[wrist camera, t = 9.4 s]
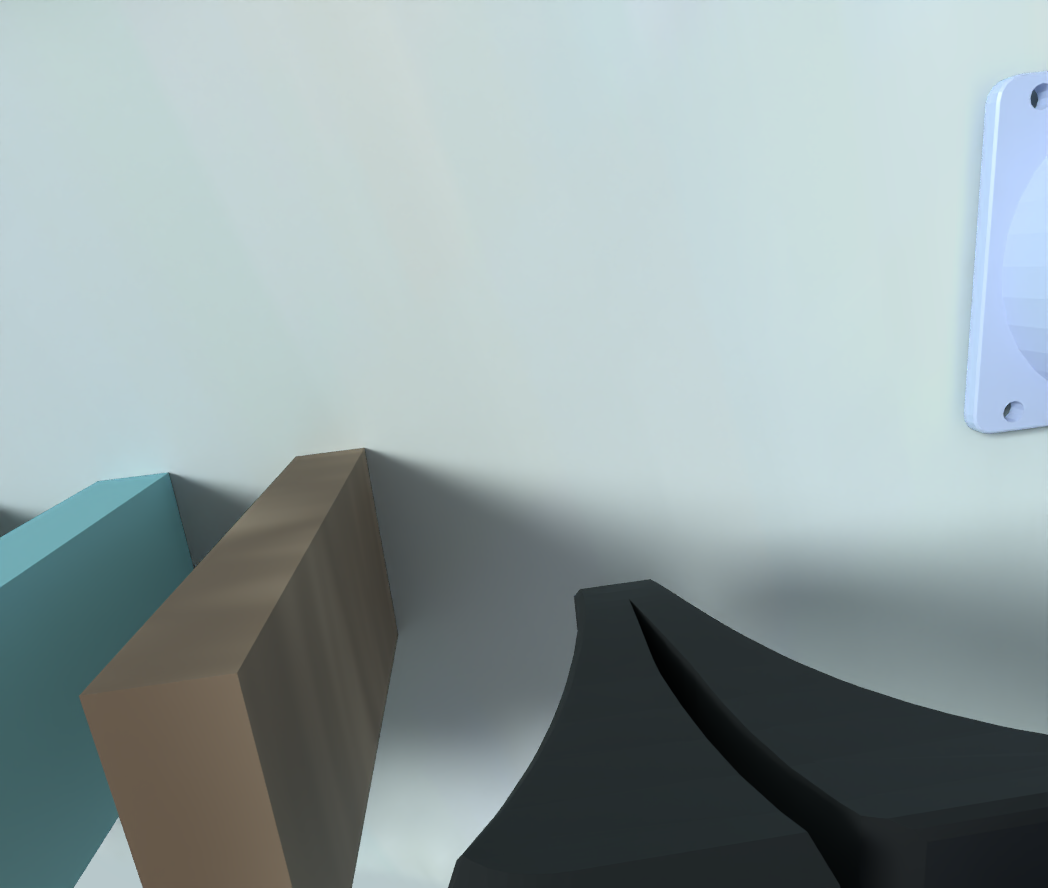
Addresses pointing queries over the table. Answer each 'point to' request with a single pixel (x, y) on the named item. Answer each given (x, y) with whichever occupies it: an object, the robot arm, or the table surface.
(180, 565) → the domino
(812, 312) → the table surface
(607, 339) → the table surface
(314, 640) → the domino
